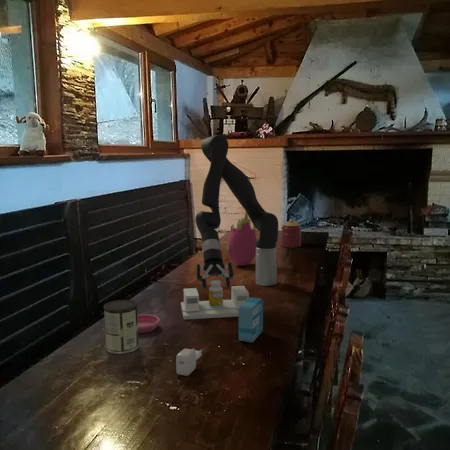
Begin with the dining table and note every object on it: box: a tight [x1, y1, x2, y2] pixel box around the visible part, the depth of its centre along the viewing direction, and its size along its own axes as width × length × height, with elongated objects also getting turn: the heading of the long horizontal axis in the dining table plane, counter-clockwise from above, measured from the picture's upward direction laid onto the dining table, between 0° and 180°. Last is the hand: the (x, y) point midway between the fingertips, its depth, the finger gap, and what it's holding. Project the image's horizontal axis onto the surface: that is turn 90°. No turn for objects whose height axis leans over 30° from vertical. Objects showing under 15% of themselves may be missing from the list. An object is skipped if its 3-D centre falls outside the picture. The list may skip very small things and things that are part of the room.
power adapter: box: [175, 347, 204, 377], centre depth 138 cm, size 11×5×6 cm, turn 159°
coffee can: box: [103, 299, 140, 355], centre depth 152 cm, size 10×10×14 cm
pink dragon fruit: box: [226, 211, 259, 267], centre depth 257 cm, size 18×14×30 cm
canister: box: [280, 218, 302, 249], centre depth 310 cm, size 13×13×18 cm
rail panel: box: [180, 285, 250, 321], centre depth 187 cm, size 26×16×8 cm, turn 99°
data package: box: [238, 296, 264, 344], centre depth 160 cm, size 12×4×12 cm, turn 158°
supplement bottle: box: [208, 279, 224, 308], centre depth 186 cm, size 5×5×10 cm
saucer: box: [137, 313, 161, 334], centre depth 169 cm, size 12×12×3 cm
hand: (216, 288), depth 185 cm, fingers open, 8 cm apart
